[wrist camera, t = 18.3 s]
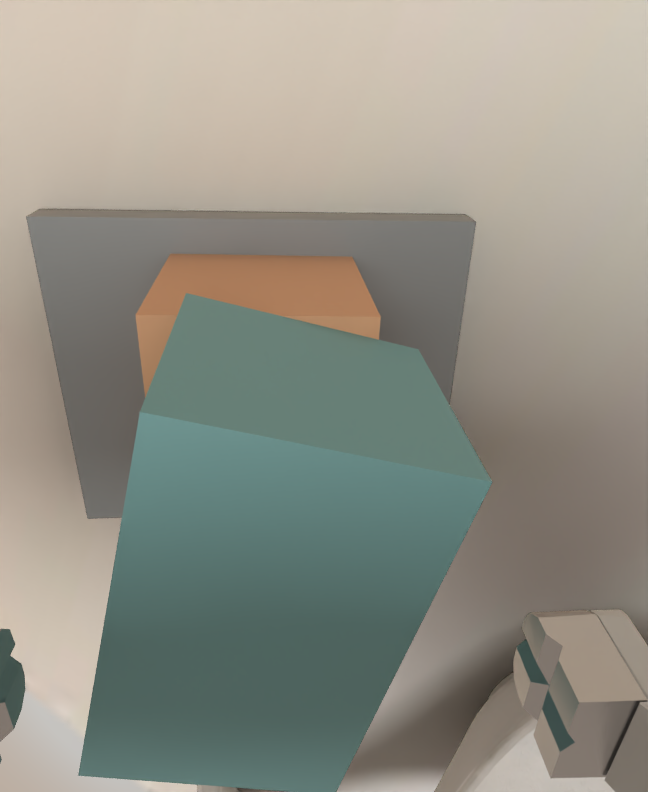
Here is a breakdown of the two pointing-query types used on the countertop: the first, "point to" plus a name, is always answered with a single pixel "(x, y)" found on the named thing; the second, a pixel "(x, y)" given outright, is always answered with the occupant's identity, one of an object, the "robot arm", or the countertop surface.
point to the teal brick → (273, 551)
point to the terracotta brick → (256, 294)
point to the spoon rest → (498, 754)
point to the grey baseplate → (231, 235)
